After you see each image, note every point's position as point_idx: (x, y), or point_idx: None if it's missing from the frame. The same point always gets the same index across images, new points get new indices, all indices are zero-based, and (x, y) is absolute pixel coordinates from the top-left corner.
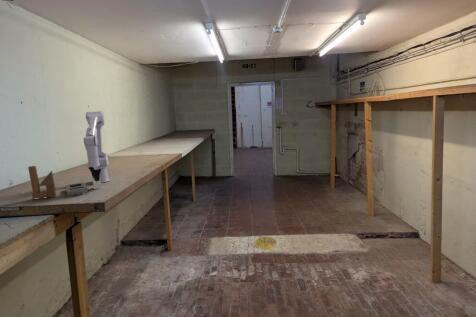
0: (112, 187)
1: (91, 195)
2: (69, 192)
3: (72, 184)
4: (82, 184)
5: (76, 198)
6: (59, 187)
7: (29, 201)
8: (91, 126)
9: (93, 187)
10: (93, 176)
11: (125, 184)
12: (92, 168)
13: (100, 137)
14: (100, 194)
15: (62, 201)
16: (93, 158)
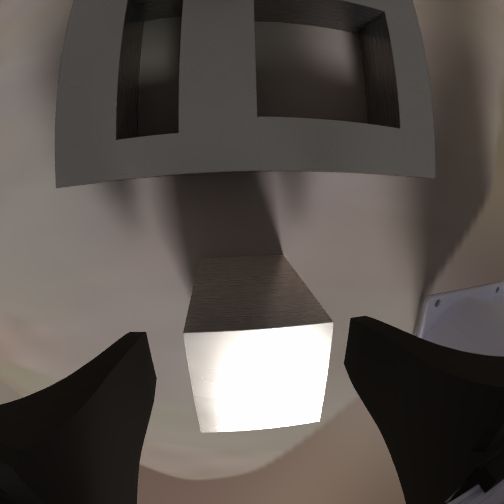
0: (172, 405)
1: (5, 214)
2: (80, 4)
3: (407, 45)
4: (326, 135)
5: (4, 91)
6: (483, 31)
7: None
8: None
9: (269, 258)
10: (315, 351)
11: (207, 468)
12: (457, 446)
13: None
14: (3, 287)
15: (17, 7)
16: None
